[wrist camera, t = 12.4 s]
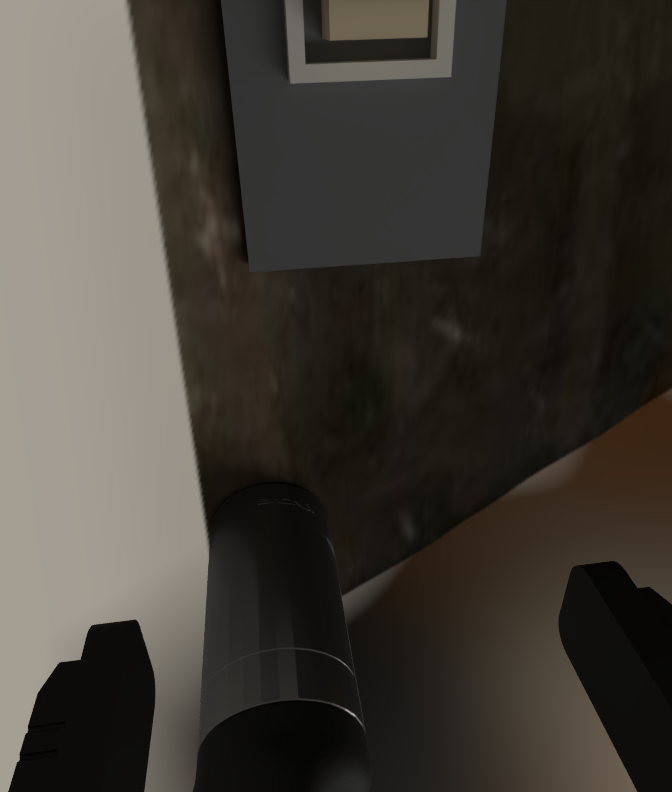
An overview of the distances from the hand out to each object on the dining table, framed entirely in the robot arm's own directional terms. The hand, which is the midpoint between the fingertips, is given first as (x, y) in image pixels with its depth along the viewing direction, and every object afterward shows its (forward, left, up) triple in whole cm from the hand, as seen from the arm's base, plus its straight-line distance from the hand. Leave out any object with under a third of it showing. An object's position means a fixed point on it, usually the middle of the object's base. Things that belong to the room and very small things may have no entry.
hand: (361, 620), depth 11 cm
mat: (+9, -2, -28) cm, 30 cm away
